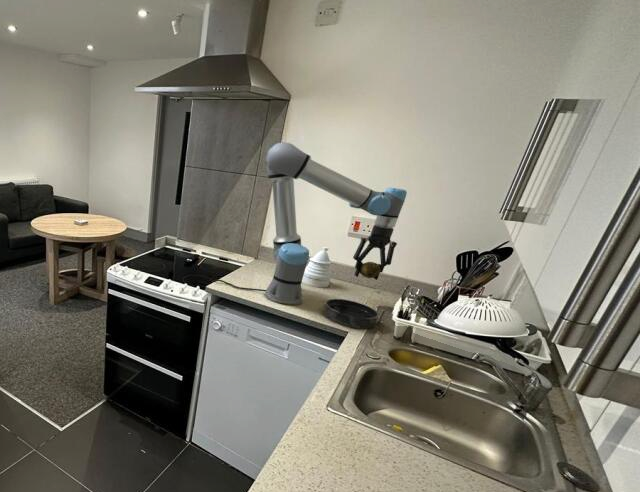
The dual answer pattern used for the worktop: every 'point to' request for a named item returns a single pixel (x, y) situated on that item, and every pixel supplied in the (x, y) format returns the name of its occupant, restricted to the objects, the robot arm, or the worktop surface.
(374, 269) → the potato
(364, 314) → the pan
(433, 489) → the worktop surface
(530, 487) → the worktop surface
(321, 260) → the honey pot
